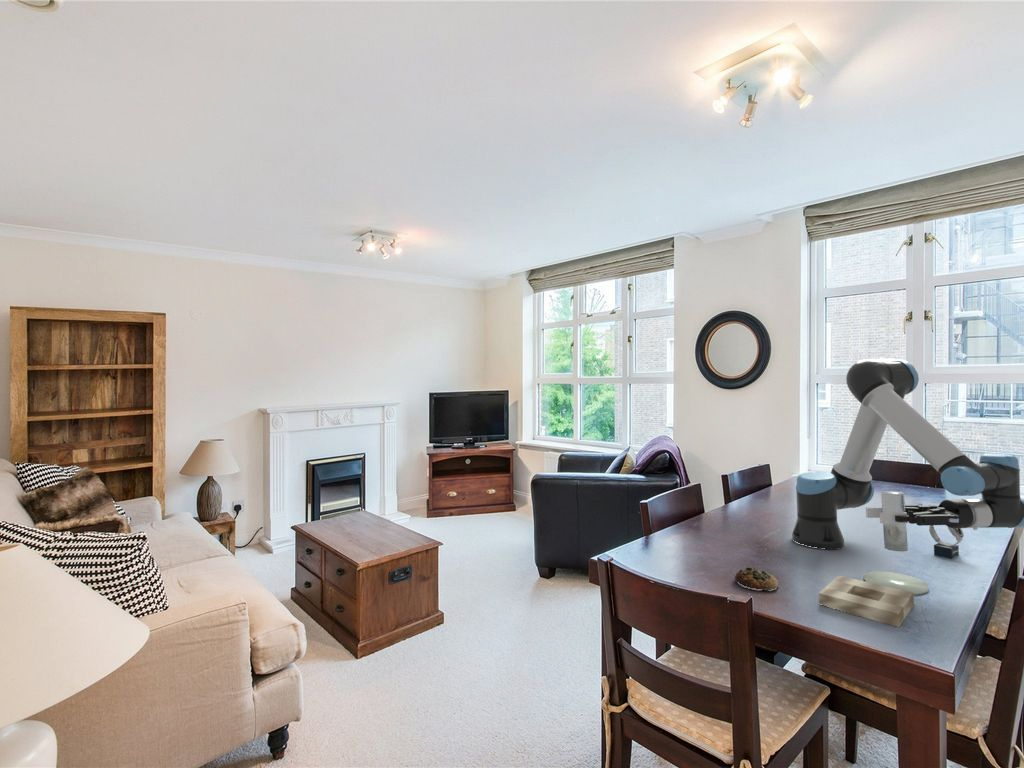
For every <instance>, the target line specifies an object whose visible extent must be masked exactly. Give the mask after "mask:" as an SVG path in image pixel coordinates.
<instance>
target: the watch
mask: <svg viewBox="0 0 1024 768" xmlns="http://www.w3.org/2000/svg"><path fill="white" fill-rule="evenodd" d="M928 527H929V529H928V531H929V534H930V536H931V537H932V539H933V540H934V541H935V542H936V543H935V544H933V555H934V556H938V557H940V558H947V559H951V560H952V559H954V558H956V557H959V555H960V554H959V553H960V552H959V551H960V550H959V549H960V548H959V544H960V543H961V542H962V541H963V538H964V531H963V528H950V527H948V526H947V530H948V531H949V532H950V534H951V535H952V536H953V537H954V538H955V539H956V542H955V543H949V542H945V541H942V540H941V538H940V536H939V535H938V533H937V531H936V529H935V527H934V525H929V526H928Z"/></svg>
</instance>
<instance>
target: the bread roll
mask: <svg viewBox="0 0 1024 768" xmlns="http://www.w3.org/2000/svg"><path fill="white" fill-rule="evenodd" d="M734 580H736V581H737V582H739V583H740V584H742V585H744V586H747V587H750V588H756V589H766V590H771V589H775V588H777V587H779V582H778V580H777V578H776V577H775V576H774V575H773V574H768V572H767V571H765V570H758V568H755V567H754V568H752V567H749V566H748V567H746V568H745V569H740V570H739V571H738V572H736V574H735V575H734ZM736 581H735V582H736ZM737 582H736V583H737ZM766 590H765V591H766Z"/></svg>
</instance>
